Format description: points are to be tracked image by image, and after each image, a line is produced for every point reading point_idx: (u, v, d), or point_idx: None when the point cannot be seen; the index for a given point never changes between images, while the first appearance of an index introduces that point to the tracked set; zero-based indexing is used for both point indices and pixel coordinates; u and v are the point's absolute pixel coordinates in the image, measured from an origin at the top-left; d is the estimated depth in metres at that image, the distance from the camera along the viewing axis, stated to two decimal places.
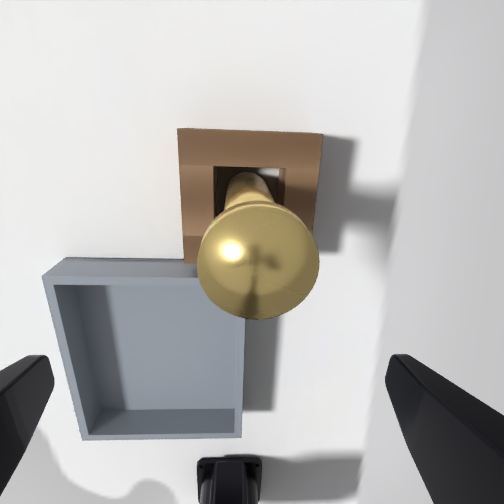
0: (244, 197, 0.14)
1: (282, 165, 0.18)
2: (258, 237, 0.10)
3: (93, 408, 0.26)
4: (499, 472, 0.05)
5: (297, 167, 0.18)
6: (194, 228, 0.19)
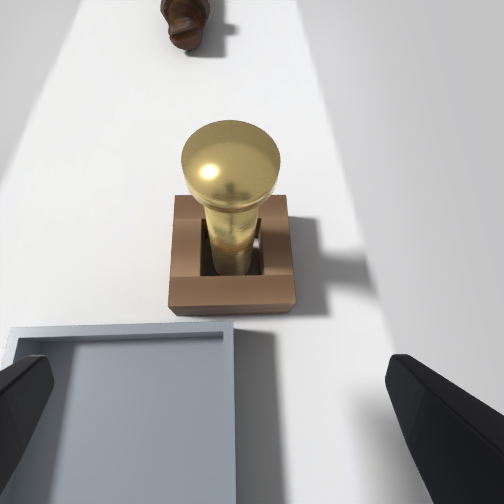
0: None
1: (257, 216, 0.22)
2: (229, 137, 0.13)
3: None
4: (499, 472, 0.05)
5: (270, 217, 0.22)
6: (181, 269, 0.20)
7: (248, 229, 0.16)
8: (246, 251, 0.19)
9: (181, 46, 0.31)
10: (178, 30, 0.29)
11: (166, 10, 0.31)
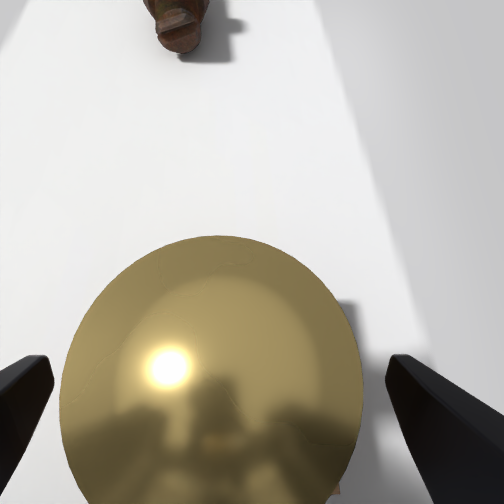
0: None
1: None
2: (213, 293, 0.05)
3: None
4: (499, 472, 0.05)
5: None
6: None
7: None
8: None
9: (173, 48, 0.23)
10: (169, 26, 0.22)
11: (151, 0, 0.23)
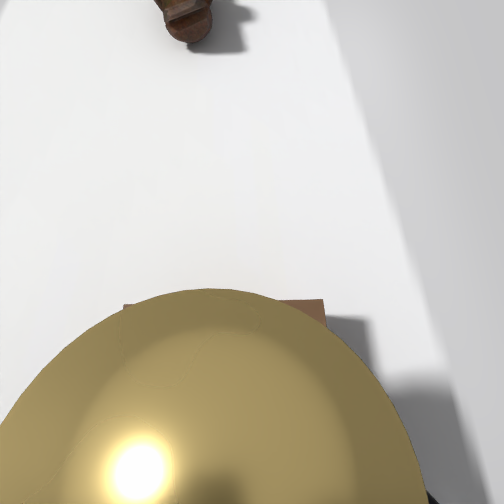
0: None
1: None
2: (200, 381, 0.03)
3: None
4: None
5: None
6: None
7: None
8: None
9: (183, 37, 0.22)
10: (179, 13, 0.20)
11: None
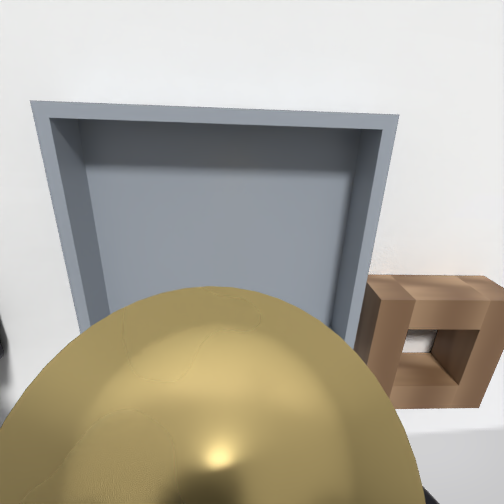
0: None
1: (462, 382, 0.19)
2: (202, 377, 0.03)
3: None
4: None
5: (456, 393, 0.19)
6: (421, 311, 0.17)
7: None
8: None
9: None
10: None
11: None
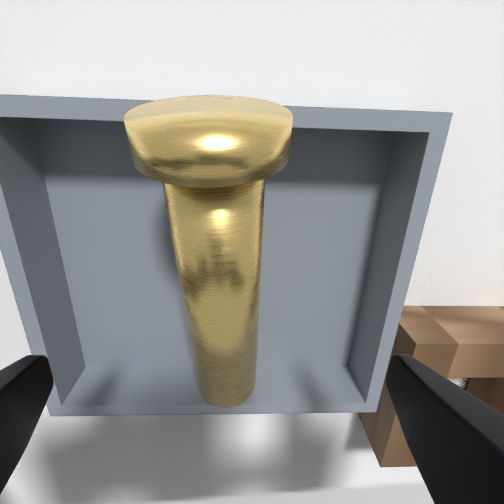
0: None
1: None
2: (210, 102, 0.08)
3: None
4: (500, 472, 0.05)
5: None
6: (464, 357, 0.14)
7: (246, 274, 0.09)
8: (246, 336, 0.11)
9: None
10: None
11: None
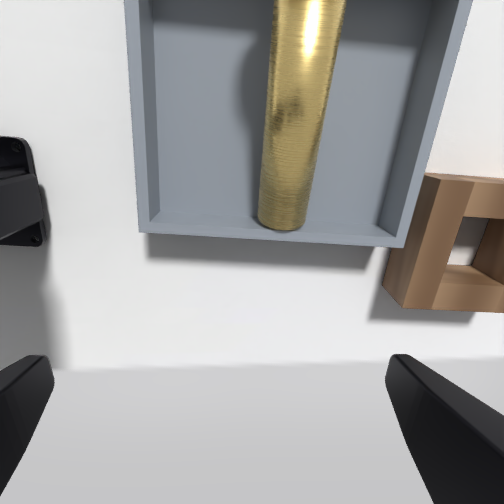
0: None
1: None
2: None
3: None
4: (499, 472, 0.05)
5: (502, 295, 0.19)
6: (478, 196, 0.17)
7: (327, 68, 0.12)
8: (313, 143, 0.14)
9: None
10: None
11: None
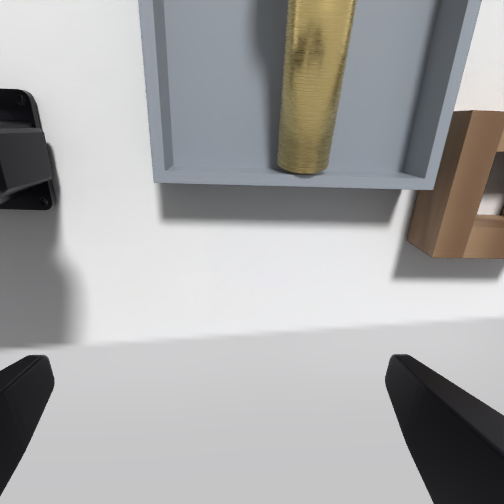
0: None
1: None
2: None
3: None
4: (499, 472, 0.05)
5: None
6: None
7: None
8: (339, 69, 0.13)
9: None
10: None
11: None
